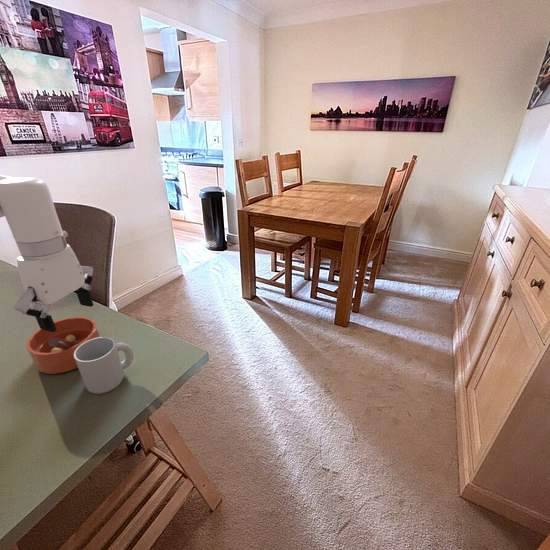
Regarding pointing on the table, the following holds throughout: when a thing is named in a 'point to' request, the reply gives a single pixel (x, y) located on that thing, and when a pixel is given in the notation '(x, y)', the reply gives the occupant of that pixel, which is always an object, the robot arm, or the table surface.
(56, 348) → the bead
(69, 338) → the bead
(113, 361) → the cup
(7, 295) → the table surface
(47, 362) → the bowl
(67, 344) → the stick
